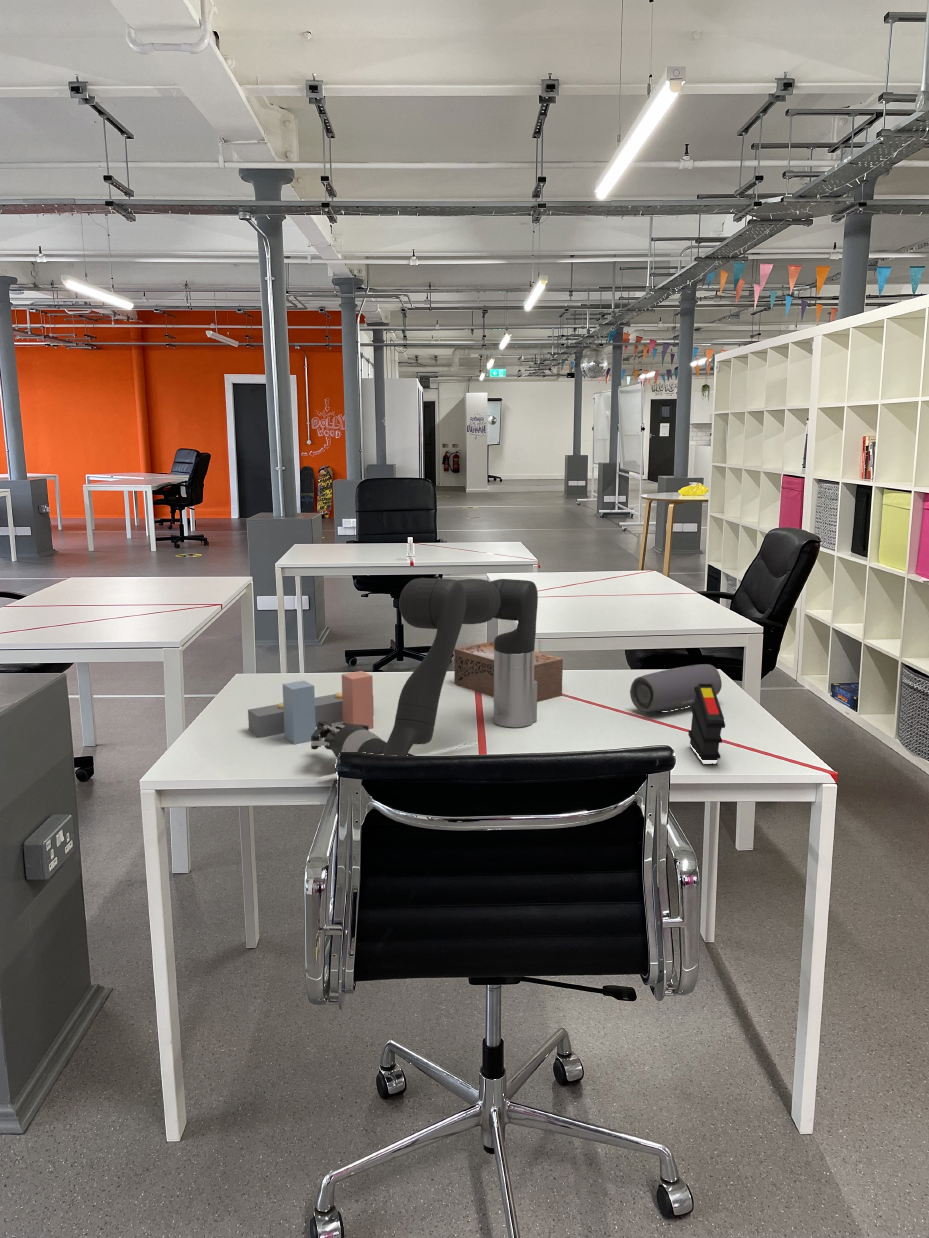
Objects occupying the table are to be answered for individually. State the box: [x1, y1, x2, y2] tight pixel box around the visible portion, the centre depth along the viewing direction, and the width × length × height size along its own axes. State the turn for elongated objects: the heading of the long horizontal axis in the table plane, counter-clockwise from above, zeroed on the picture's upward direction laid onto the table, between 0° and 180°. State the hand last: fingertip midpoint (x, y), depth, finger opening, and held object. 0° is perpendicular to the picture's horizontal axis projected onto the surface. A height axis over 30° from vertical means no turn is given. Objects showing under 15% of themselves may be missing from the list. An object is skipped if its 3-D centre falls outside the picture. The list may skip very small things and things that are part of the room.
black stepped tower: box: [688, 683, 726, 761], centre depth 183 cm, size 4×13×15 cm, turn 0°
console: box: [247, 692, 375, 739], centre depth 196 cm, size 28×19×7 cm
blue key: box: [282, 680, 317, 745], centre depth 190 cm, size 5×5×12 cm
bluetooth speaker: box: [629, 663, 723, 712], centre depth 216 cm, size 23×9×10 cm, turn 123°
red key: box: [341, 670, 375, 730], centre depth 198 cm, size 5×5×12 cm
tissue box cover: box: [453, 641, 564, 703], centre depth 231 cm, size 26×14×10 cm, turn 40°
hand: (321, 725), depth 181 cm, fingers closed
